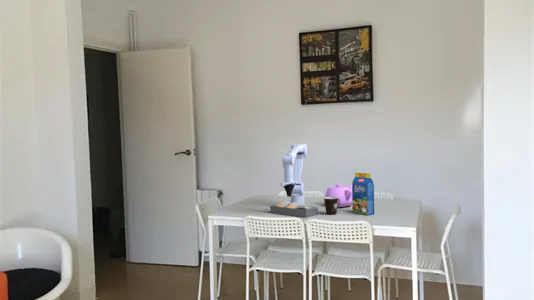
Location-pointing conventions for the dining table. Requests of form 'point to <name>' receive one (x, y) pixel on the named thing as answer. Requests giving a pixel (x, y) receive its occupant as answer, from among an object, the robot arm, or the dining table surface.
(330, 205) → the coffee mug
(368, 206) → the blue food package
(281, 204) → the outlet rocker
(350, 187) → the teapot
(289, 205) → the outlet rocker
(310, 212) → the power strip
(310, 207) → the rocker outlet
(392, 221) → the dining table surface
